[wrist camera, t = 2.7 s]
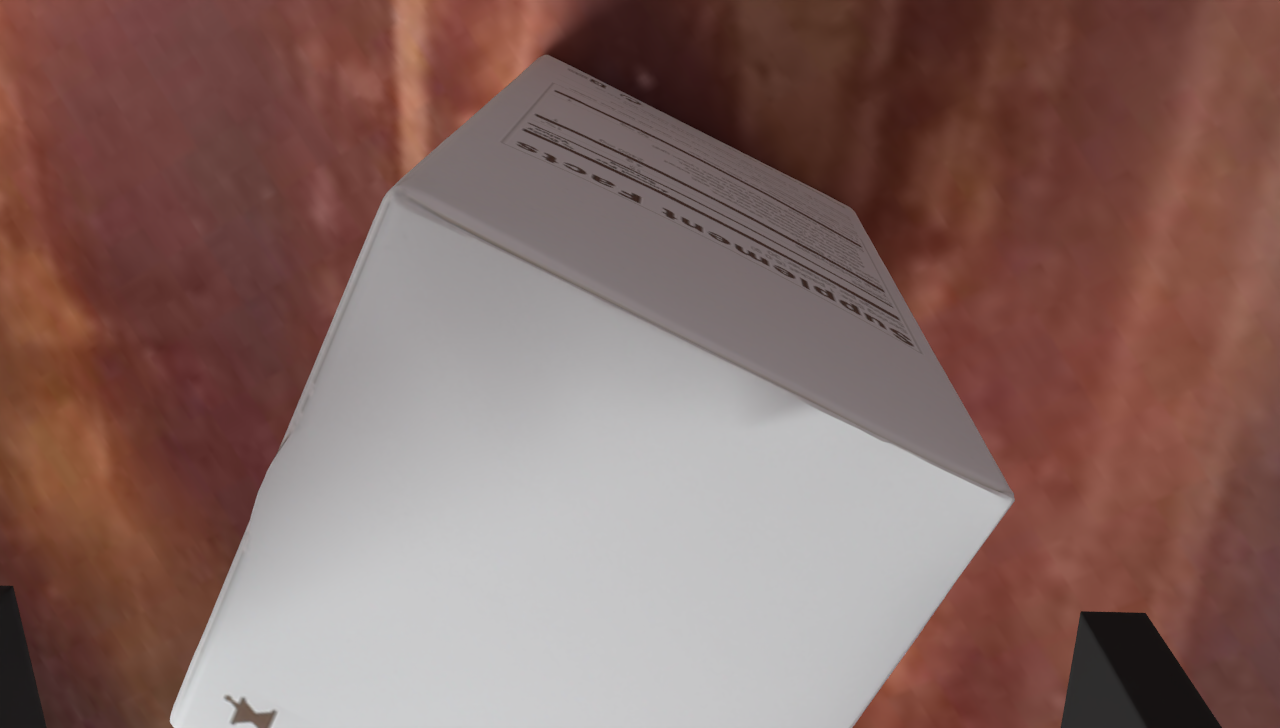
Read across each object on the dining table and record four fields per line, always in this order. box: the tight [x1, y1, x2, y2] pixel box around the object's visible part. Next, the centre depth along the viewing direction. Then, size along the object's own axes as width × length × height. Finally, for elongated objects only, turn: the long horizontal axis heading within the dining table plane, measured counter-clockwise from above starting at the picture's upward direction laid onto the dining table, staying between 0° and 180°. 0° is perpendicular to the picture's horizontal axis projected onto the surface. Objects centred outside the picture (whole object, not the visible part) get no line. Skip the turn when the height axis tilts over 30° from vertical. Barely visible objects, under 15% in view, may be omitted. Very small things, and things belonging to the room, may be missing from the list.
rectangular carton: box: [170, 55, 1015, 728], centre depth 22 cm, size 9×9×15 cm
